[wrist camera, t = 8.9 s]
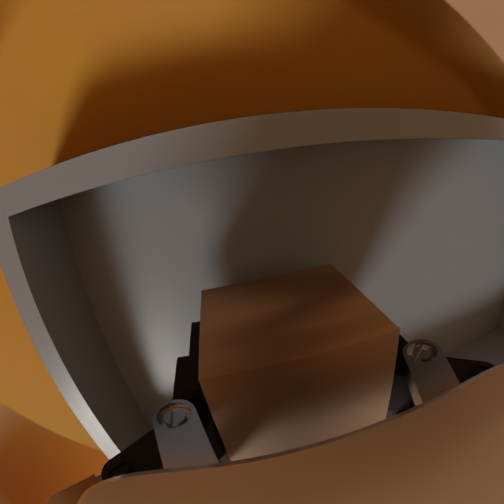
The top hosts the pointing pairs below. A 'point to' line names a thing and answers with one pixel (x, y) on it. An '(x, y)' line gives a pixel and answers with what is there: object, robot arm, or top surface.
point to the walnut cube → (293, 360)
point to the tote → (252, 241)
